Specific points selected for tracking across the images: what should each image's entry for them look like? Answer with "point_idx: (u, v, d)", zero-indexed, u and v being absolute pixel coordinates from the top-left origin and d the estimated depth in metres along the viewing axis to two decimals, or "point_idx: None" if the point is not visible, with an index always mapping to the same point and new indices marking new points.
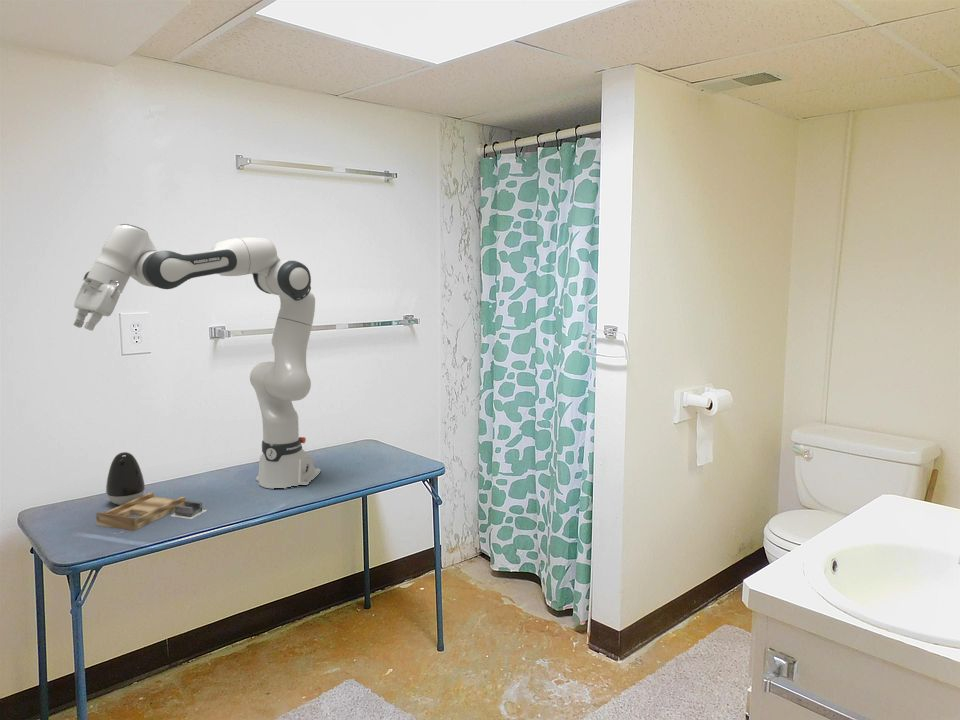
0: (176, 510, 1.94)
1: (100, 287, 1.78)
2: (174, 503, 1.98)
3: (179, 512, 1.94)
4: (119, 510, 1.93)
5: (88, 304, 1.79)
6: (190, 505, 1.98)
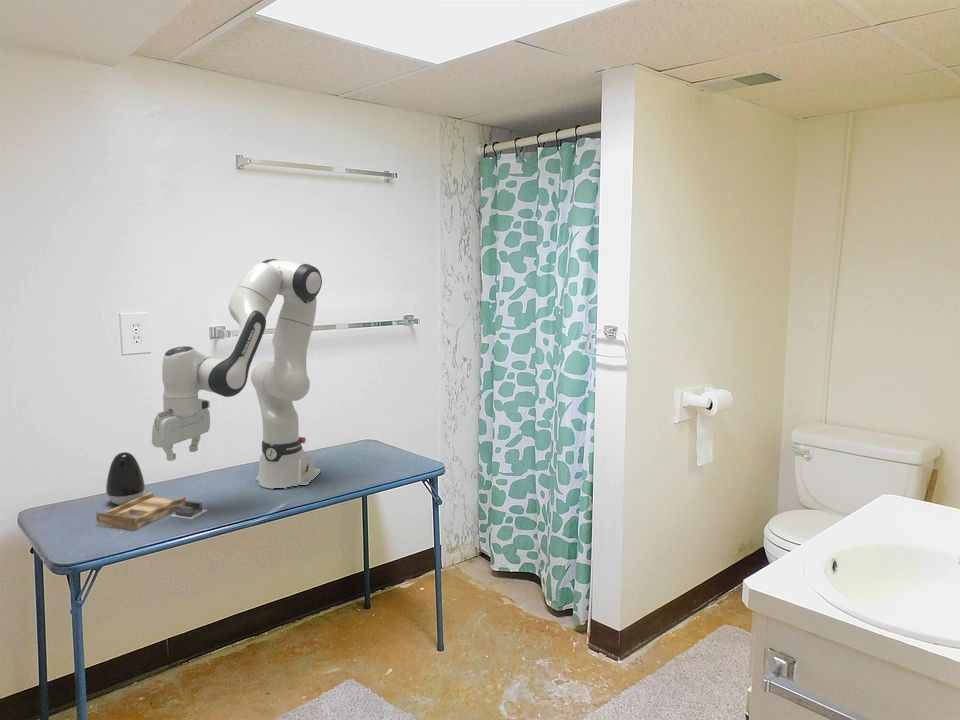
0: (176, 510, 1.94)
1: None
2: (174, 503, 1.98)
3: (179, 512, 1.94)
4: (119, 510, 1.93)
5: None
6: (190, 505, 1.98)
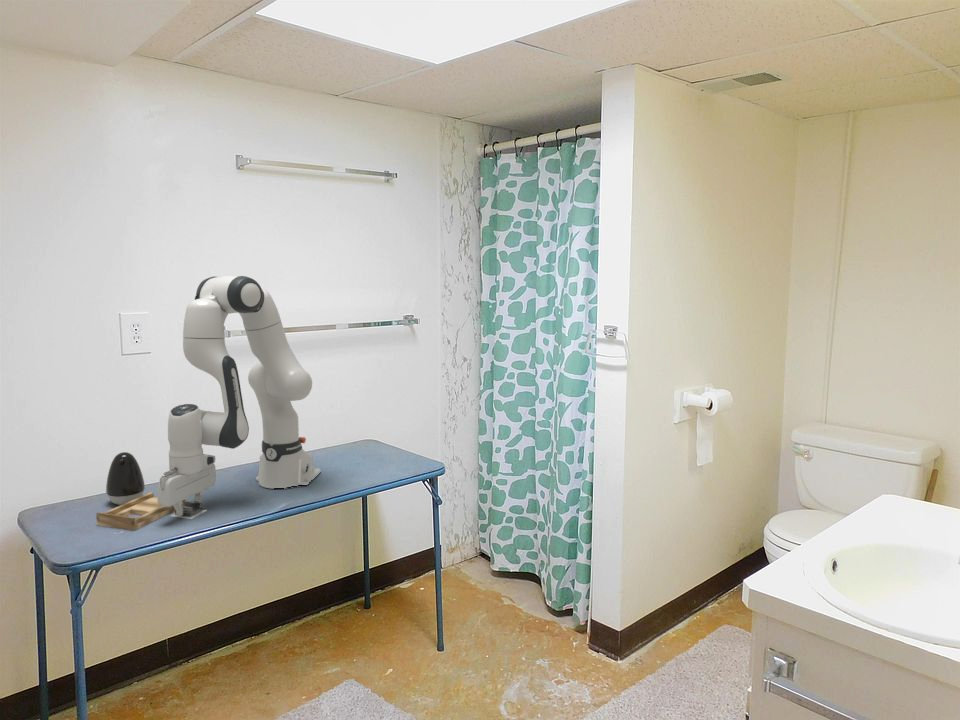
0: None
1: None
2: None
3: None
4: (119, 510, 1.93)
5: None
6: (190, 505, 1.98)
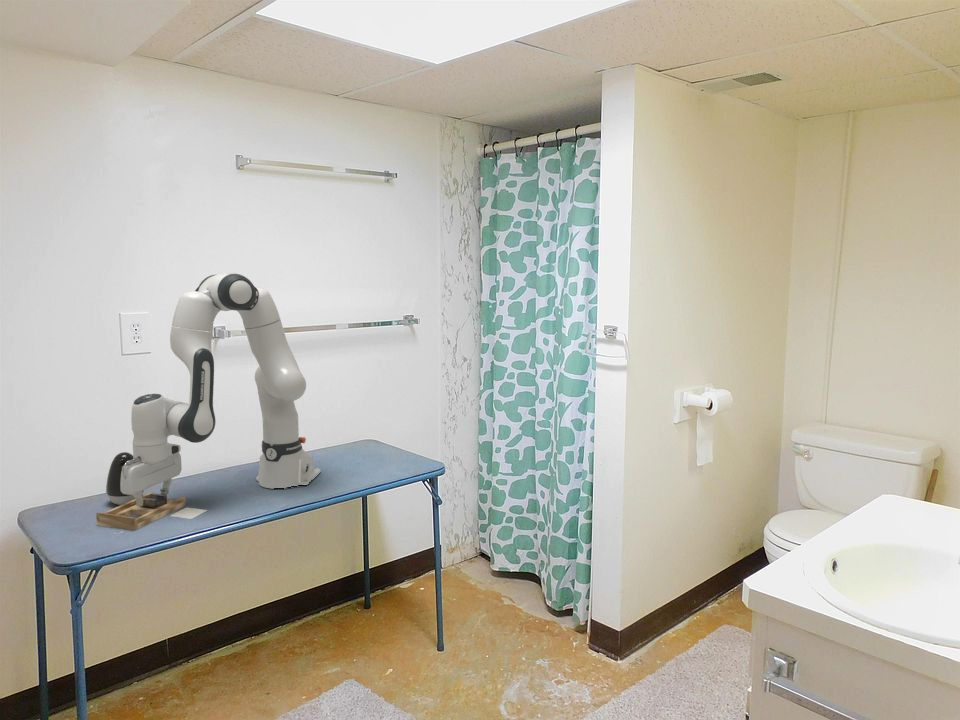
0: None
1: None
2: (174, 503, 1.98)
3: None
4: (119, 510, 1.93)
5: None
6: (155, 497, 2.00)
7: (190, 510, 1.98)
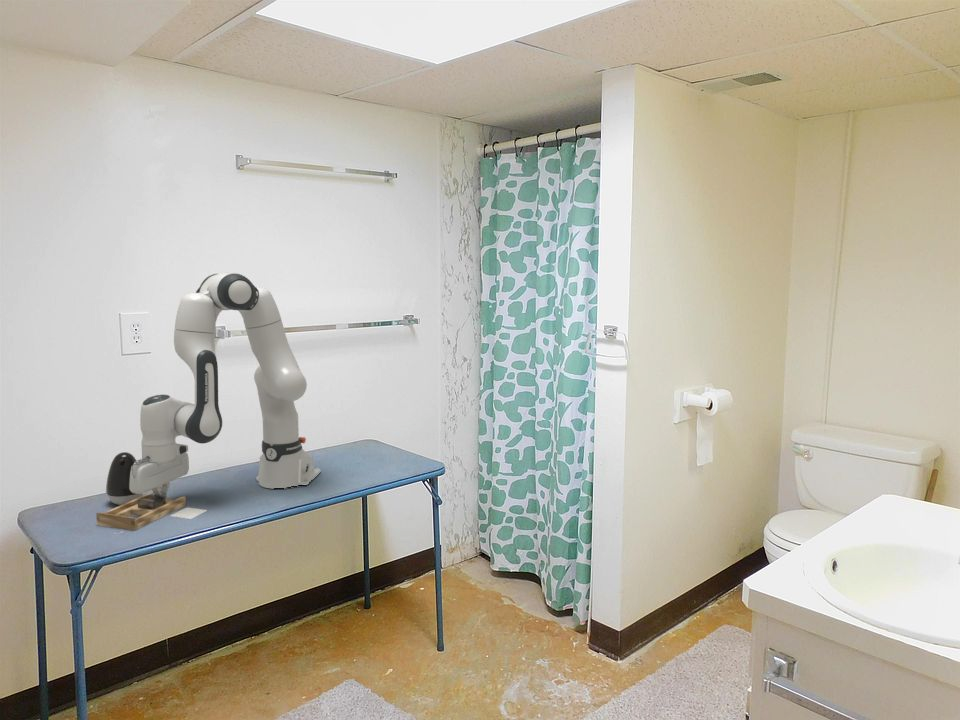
0: (139, 503, 1.96)
1: None
2: (174, 503, 1.98)
3: (142, 505, 1.96)
4: (119, 510, 1.93)
5: None
6: (153, 498, 1.99)
7: (190, 510, 1.98)
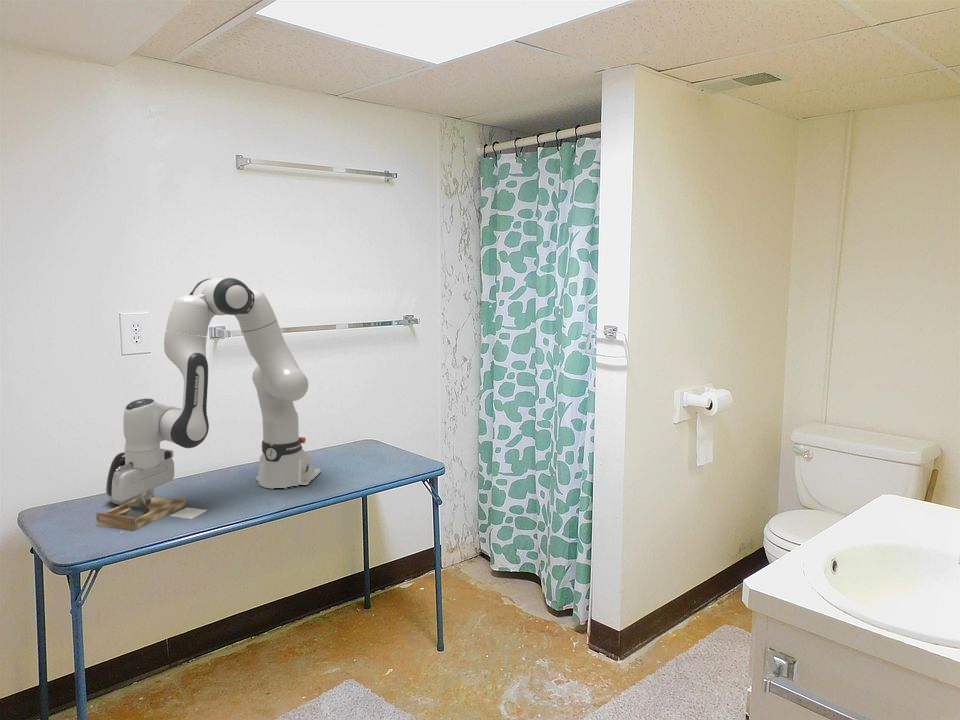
0: None
1: None
2: (174, 503, 1.98)
3: None
4: (119, 510, 1.93)
5: None
6: (135, 507, 1.92)
7: (190, 510, 1.98)
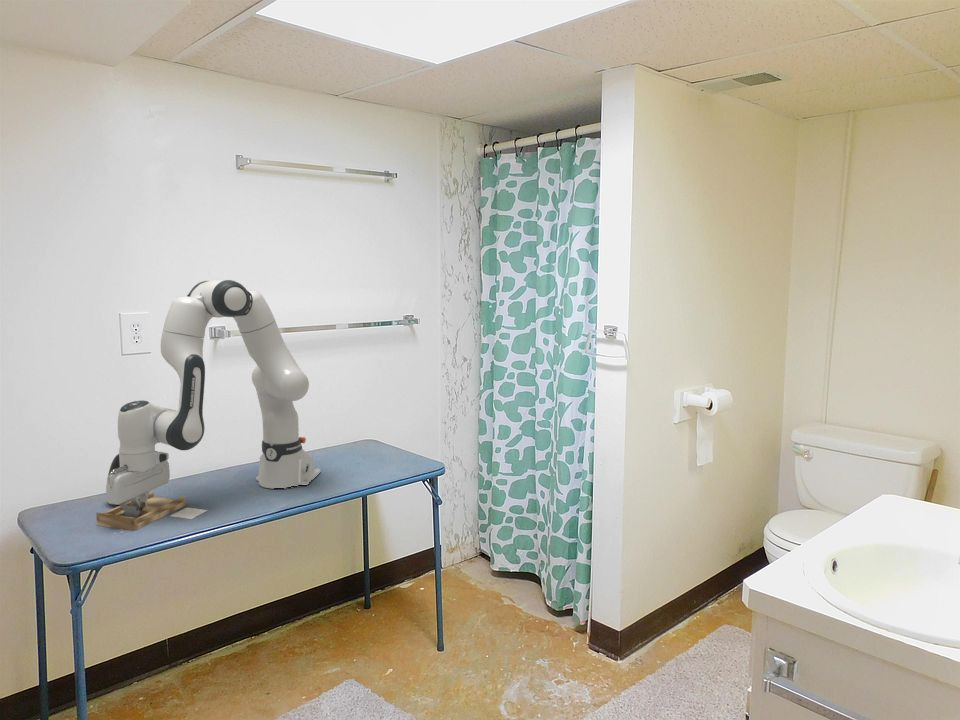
0: None
1: None
2: (174, 503, 1.98)
3: None
4: (119, 510, 1.93)
5: None
6: (128, 509, 1.90)
7: (190, 510, 1.98)
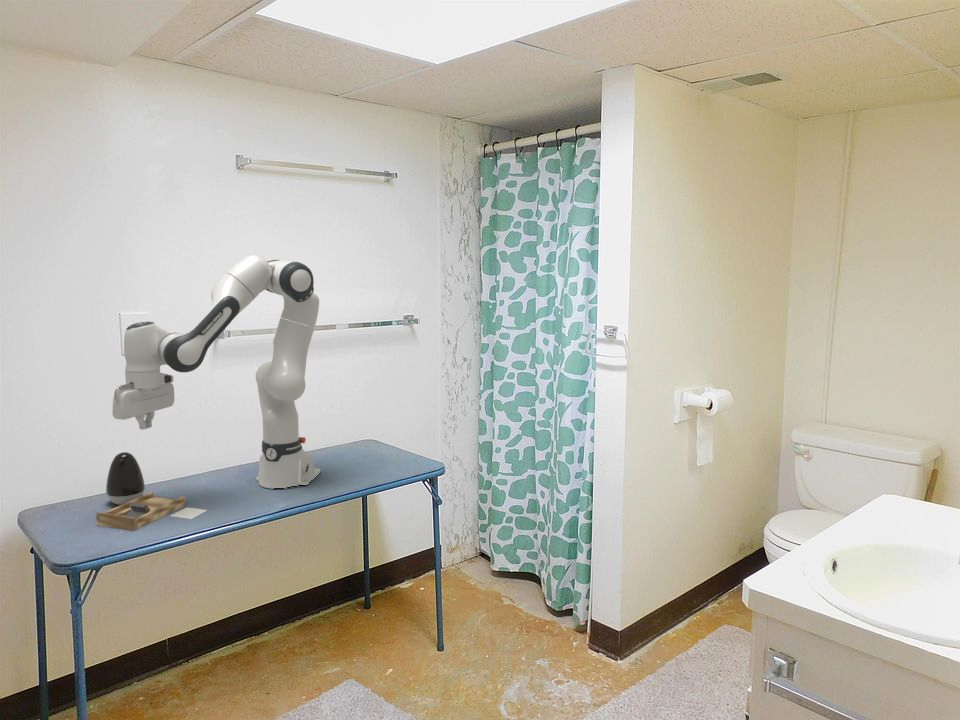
0: None
1: None
2: (174, 503, 1.98)
3: None
4: (119, 510, 1.93)
5: None
6: (136, 508, 1.93)
7: (190, 510, 1.98)
